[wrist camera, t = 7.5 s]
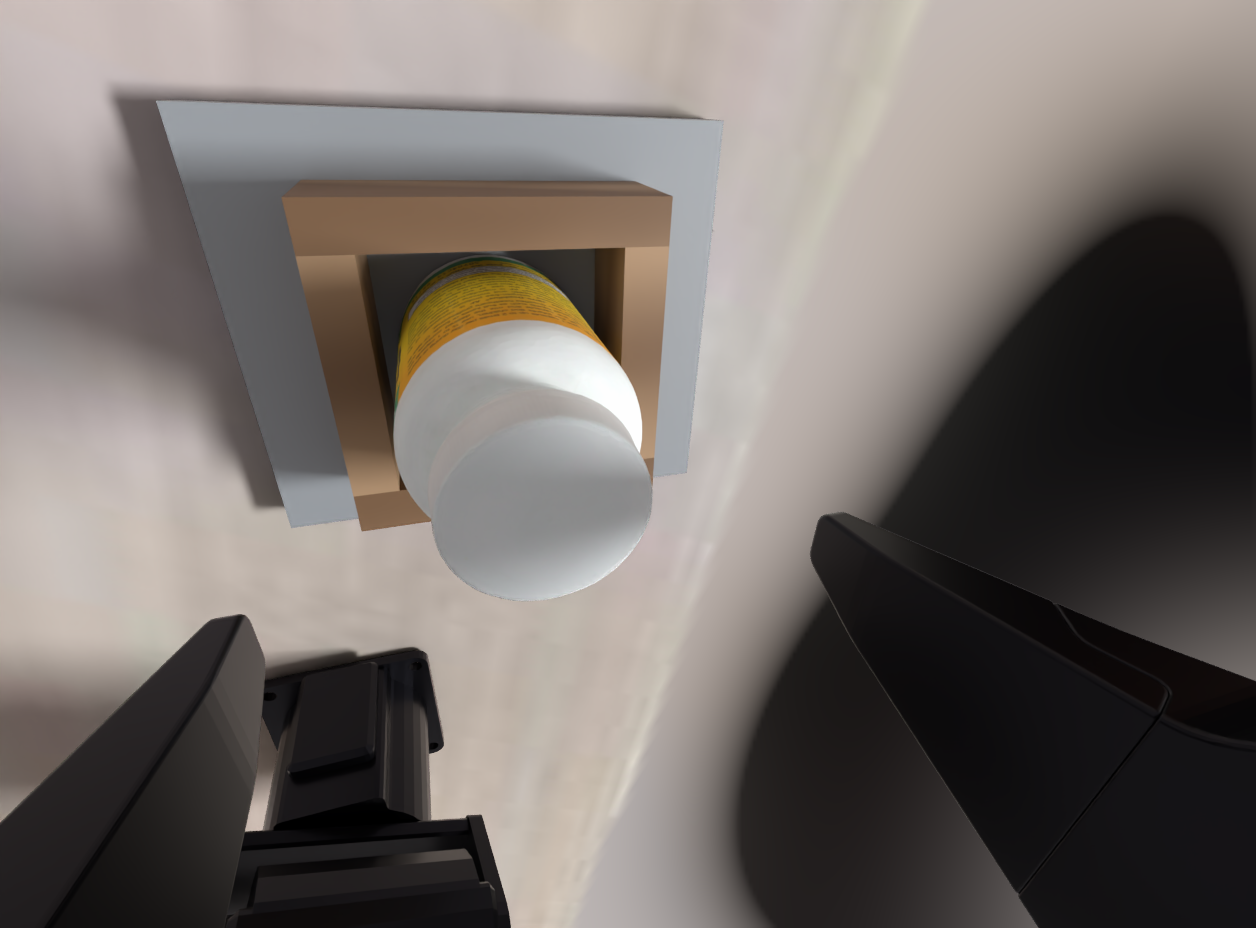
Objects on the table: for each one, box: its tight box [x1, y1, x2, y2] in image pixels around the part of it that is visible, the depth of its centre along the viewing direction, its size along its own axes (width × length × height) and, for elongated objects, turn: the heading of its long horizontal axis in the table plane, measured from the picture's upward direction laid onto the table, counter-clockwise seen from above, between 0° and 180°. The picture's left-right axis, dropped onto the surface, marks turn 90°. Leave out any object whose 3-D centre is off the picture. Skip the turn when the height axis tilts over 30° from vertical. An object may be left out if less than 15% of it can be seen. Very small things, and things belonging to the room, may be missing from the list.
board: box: [156, 100, 724, 528], centre depth 19 cm, size 12×14×1 cm
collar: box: [281, 180, 673, 531], centre depth 17 cm, size 9×9×3 cm
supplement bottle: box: [393, 255, 652, 601], centre depth 15 cm, size 5×5×10 cm
